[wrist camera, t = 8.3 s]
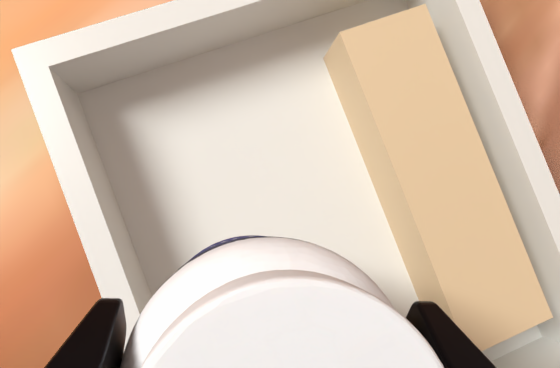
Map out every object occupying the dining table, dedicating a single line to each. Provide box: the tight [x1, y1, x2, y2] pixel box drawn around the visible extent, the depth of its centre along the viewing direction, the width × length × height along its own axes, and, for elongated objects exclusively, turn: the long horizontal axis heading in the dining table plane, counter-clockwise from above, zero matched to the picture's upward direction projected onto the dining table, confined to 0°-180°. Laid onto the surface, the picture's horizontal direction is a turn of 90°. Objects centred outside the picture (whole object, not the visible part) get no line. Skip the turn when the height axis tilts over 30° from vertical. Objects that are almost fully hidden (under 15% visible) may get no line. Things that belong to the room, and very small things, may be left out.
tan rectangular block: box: [323, 4, 553, 351], centre depth 21 cm, size 4×14×3 cm, turn 21°
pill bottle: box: [120, 235, 444, 368], centre depth 11 cm, size 6×6×10 cm
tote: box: [11, 0, 560, 368], centre depth 20 cm, size 18×20×4 cm
